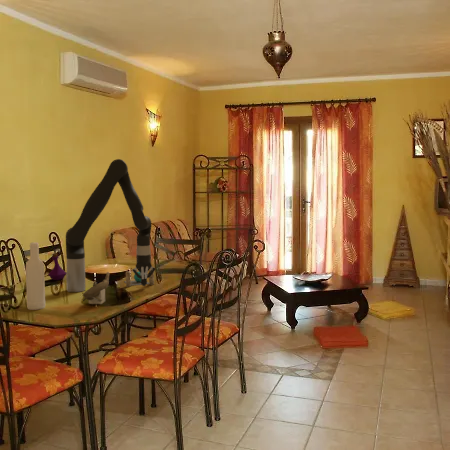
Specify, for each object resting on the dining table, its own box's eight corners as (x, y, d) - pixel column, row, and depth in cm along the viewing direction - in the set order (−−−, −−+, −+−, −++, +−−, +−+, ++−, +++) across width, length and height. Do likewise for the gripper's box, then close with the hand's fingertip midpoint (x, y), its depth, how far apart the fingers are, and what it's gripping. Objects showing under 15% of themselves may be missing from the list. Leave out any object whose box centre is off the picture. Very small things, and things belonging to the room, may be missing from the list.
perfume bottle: (47, 279, 302) (47, 249, 301) (57, 277, 309) (56, 247, 307) (57, 281, 299) (56, 250, 297) (67, 278, 305) (66, 248, 304)
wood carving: (117, 293, 269) (117, 271, 268) (95, 310, 234) (95, 286, 233) (100, 292, 270) (100, 271, 268) (76, 310, 235) (75, 285, 234)
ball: (135, 282, 293) (135, 272, 293) (132, 281, 298) (132, 271, 298) (146, 282, 295) (146, 271, 295) (142, 281, 301) (142, 270, 301)
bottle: (47, 305, 243) (45, 241, 240) (42, 309, 235) (40, 243, 232) (30, 305, 243) (28, 241, 240) (24, 310, 235) (22, 243, 232)
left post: (126, 287, 284) (126, 272, 283) (125, 286, 286) (125, 271, 285) (131, 286, 285) (131, 272, 284) (130, 285, 287) (130, 271, 286)
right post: (150, 285, 289) (149, 270, 288) (148, 284, 291) (148, 270, 290) (154, 284, 290) (154, 270, 289) (153, 283, 292) (153, 269, 291)
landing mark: (128, 285, 287) (128, 285, 287) (123, 281, 298) (123, 281, 298) (150, 284, 292) (150, 283, 292) (144, 280, 303) (144, 279, 303)
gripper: (153, 252, 285) (153, 283, 287) (129, 253, 280) (130, 285, 281) (157, 253, 278) (157, 285, 280) (133, 255, 273) (133, 288, 274)
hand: (143, 285), depth 280 cm, fingers closed
